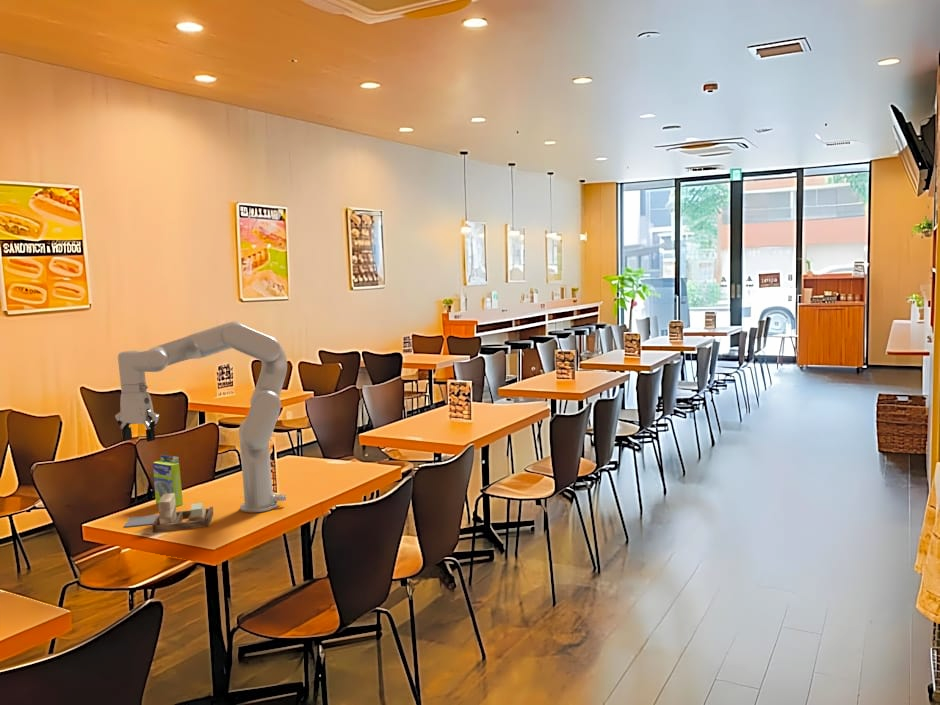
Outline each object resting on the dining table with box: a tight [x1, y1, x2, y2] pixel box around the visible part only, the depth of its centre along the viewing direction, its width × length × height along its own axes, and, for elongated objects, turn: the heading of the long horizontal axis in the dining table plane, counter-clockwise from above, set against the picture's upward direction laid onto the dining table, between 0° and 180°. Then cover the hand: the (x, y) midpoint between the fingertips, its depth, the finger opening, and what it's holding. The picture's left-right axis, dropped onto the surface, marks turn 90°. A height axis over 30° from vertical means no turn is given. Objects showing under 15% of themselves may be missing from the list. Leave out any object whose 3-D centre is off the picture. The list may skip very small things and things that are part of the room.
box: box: [152, 454, 184, 507], centre depth 282 cm, size 10×4×17 cm, turn 58°
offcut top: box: [190, 502, 204, 517], centre depth 261 cm, size 4×7×2 cm, turn 18°
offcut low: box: [187, 508, 207, 522], centre depth 261 cm, size 4×9×3 cm, turn 12°
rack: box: [151, 506, 214, 533], centre depth 260 cm, size 17×14×2 cm
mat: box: [123, 514, 159, 528], centre depth 264 cm, size 9×10×1 cm
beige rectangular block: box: [157, 493, 177, 524], centre depth 259 cm, size 4×10×9 cm, turn 12°
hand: (139, 440), depth 259 cm, fingers open, 9 cm apart
